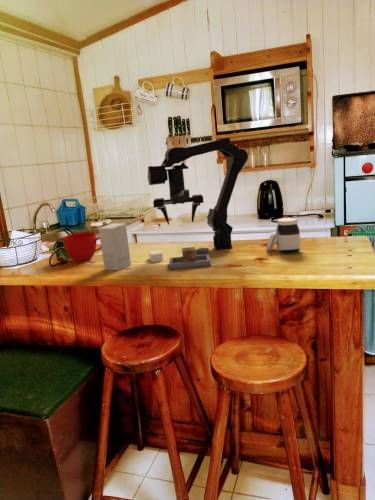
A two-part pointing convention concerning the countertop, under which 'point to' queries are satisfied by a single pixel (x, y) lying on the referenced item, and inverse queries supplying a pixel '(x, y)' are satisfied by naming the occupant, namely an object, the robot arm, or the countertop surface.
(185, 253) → the walnut block
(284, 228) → the spread jar
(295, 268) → the countertop surface
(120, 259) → the skincare box
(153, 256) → the off-white plastic block
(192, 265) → the charcoal tray
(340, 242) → the countertop surface
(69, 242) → the ceramic cup
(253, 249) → the countertop surface
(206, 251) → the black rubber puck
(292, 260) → the countertop surface
